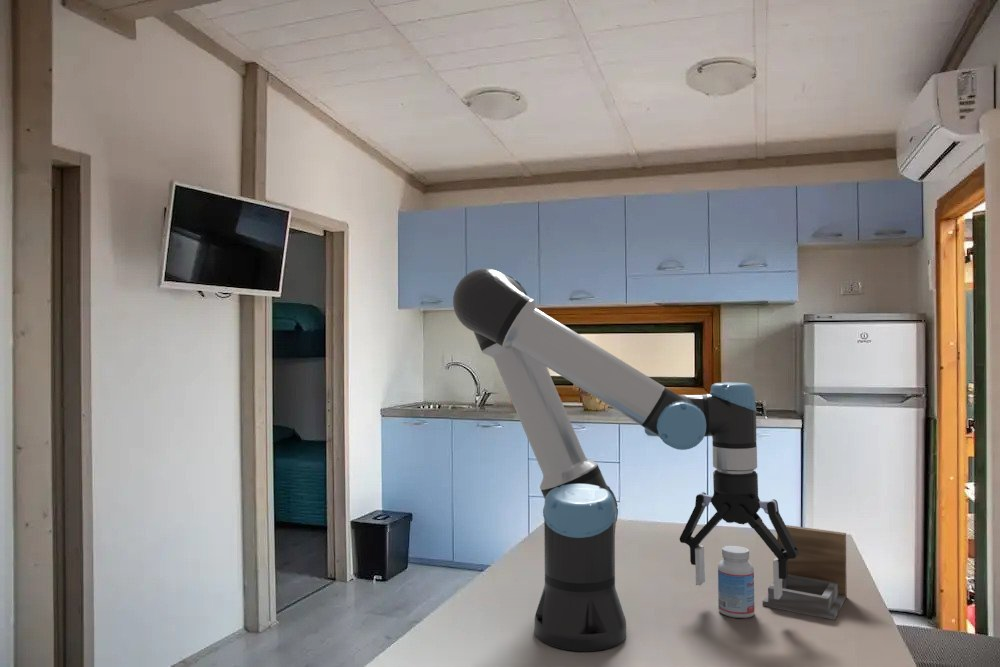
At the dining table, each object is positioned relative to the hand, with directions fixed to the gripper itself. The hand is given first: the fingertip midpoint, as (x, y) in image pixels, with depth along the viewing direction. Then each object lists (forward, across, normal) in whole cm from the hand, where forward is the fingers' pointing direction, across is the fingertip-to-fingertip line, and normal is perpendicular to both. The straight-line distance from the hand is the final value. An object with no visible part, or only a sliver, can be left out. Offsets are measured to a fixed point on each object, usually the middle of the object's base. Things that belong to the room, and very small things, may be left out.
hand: (738, 590), depth 126 cm
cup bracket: (+4, -9, -12) cm, 16 cm away
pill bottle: (+4, 0, 0) cm, 4 cm away
